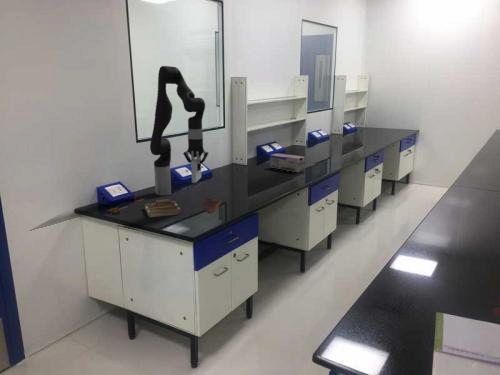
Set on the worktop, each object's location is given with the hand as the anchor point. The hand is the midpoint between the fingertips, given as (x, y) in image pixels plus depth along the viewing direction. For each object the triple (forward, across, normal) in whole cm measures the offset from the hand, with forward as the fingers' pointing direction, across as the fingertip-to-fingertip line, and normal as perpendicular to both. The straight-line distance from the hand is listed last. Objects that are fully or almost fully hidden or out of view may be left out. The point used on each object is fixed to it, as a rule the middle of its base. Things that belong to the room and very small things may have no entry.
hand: (196, 170), depth 222 cm
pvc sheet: (+5, 0, 0) cm, 5 cm away
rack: (+21, +15, +11) cm, 28 cm away
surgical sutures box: (+21, -43, -108) cm, 118 cm away
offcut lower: (+19, +17, +8) cm, 27 cm away
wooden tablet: (+22, -5, -5) cm, 23 cm away
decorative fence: (+22, +37, +2) cm, 43 cm away
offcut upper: (+17, +16, +7) cm, 25 cm away
